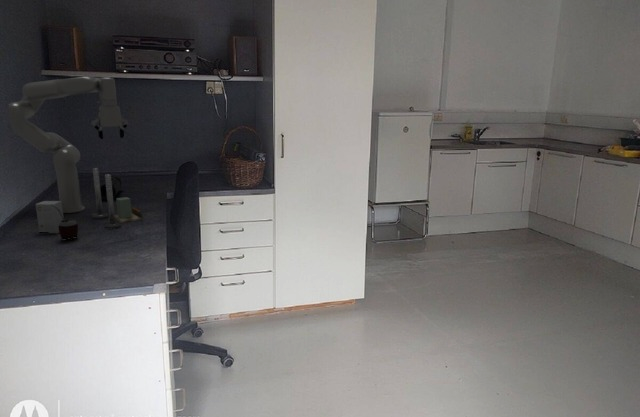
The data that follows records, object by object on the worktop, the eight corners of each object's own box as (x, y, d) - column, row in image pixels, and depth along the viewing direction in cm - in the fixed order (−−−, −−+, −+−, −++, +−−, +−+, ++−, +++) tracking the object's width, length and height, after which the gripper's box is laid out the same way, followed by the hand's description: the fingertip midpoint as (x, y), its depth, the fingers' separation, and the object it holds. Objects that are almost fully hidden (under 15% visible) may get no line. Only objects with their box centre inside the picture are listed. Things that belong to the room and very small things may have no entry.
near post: (106, 229, 213) (101, 176, 207) (102, 226, 218) (97, 174, 213) (123, 227, 217) (118, 175, 212) (118, 223, 223) (113, 172, 217)
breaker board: (121, 223, 224) (120, 215, 223) (113, 217, 233) (112, 209, 232) (142, 219, 230) (142, 211, 229) (134, 214, 239) (133, 206, 238)
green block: (121, 218, 227) (119, 200, 225) (117, 216, 231) (116, 198, 229) (131, 217, 230) (130, 198, 228) (128, 215, 234) (126, 197, 232)
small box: (65, 229, 213) (61, 200, 210) (57, 233, 207) (54, 204, 204) (47, 229, 213) (43, 200, 210) (38, 233, 207) (34, 204, 204)
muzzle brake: (98, 202, 263) (97, 183, 260) (106, 191, 289) (104, 174, 286) (117, 201, 265) (115, 183, 263) (123, 190, 291) (121, 173, 289)
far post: (94, 220, 228) (89, 170, 222) (90, 216, 234) (85, 167, 228) (110, 217, 233) (105, 168, 227) (105, 214, 238) (101, 166, 232)
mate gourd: (81, 239, 200) (77, 204, 196) (61, 243, 195) (56, 207, 191) (75, 235, 205) (71, 201, 201) (55, 239, 200) (50, 204, 196)
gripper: (91, 103, 228) (95, 140, 232) (129, 103, 239) (131, 138, 243) (87, 103, 234) (91, 138, 238) (124, 102, 244) (127, 136, 248)
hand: (111, 138), depth 240 cm, fingers open, 9 cm apart
